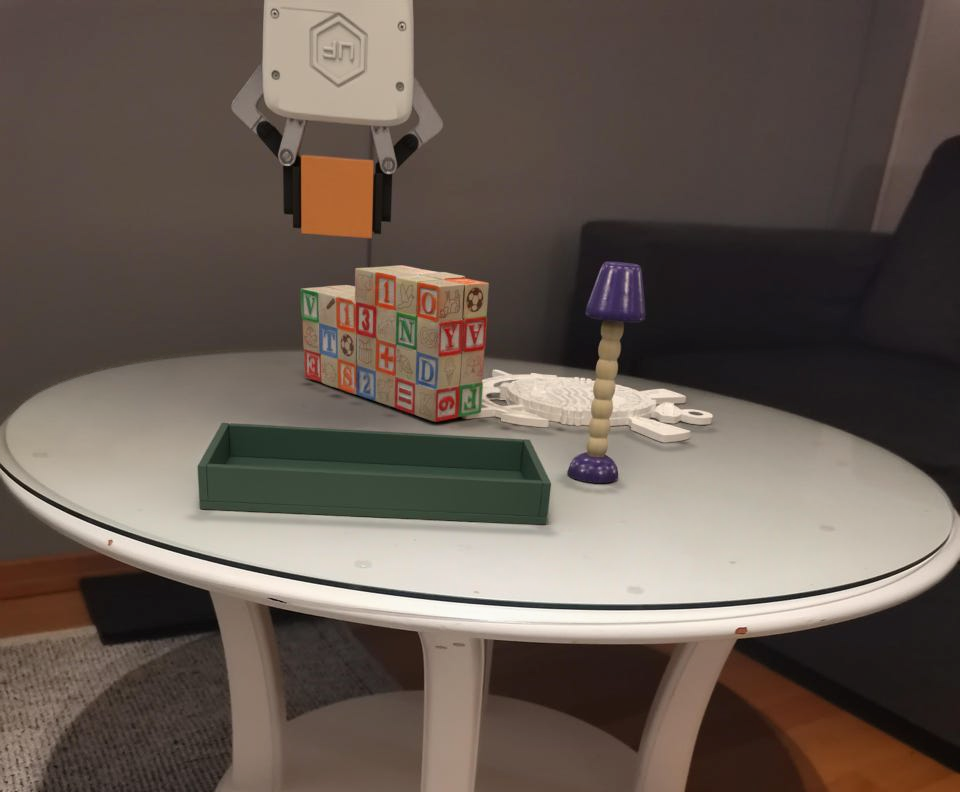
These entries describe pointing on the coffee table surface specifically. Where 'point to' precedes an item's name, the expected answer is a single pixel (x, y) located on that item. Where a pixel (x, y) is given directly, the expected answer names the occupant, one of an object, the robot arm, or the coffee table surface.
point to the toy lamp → (608, 361)
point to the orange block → (336, 196)
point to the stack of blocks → (400, 339)
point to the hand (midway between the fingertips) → (337, 226)
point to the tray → (373, 474)
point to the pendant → (584, 405)
